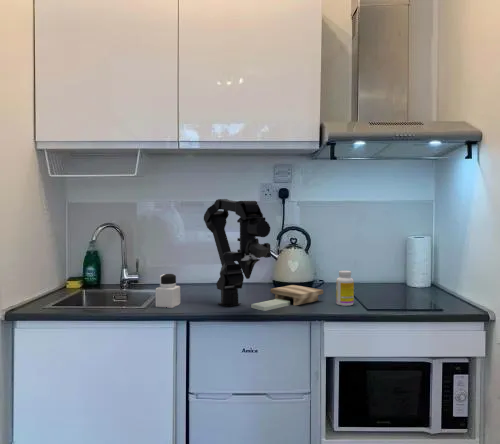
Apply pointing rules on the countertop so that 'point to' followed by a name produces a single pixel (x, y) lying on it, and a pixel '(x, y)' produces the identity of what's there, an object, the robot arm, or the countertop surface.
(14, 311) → the countertop surface
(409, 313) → the countertop surface
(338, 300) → the supplement bottle
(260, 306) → the sage plate
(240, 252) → the robot arm
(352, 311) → the countertop surface
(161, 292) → the medicine bottle
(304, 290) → the overhang
